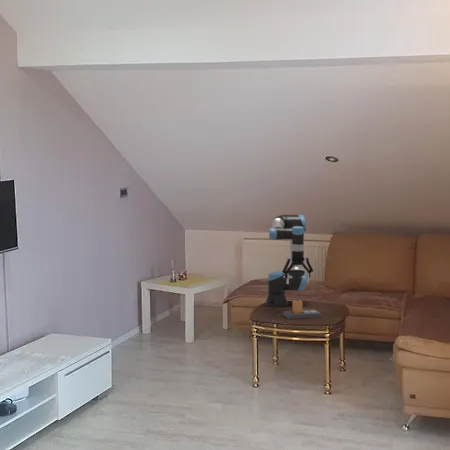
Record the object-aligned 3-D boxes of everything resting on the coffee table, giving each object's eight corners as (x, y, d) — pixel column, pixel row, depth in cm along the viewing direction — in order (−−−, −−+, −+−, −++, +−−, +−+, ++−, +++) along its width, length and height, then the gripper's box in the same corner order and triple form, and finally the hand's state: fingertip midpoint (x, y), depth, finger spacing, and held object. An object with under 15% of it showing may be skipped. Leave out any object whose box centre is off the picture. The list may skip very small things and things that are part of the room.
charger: (292, 315, 447) (292, 300, 446) (299, 315, 449) (299, 299, 447) (295, 317, 442) (295, 301, 441) (302, 316, 444) (302, 301, 443)
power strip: (282, 314, 449) (282, 310, 449) (314, 312, 454) (314, 309, 454) (288, 319, 438) (288, 315, 438) (321, 317, 443) (321, 313, 442)
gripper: (281, 252, 435) (280, 285, 437) (318, 250, 440) (318, 283, 442) (277, 250, 442) (277, 283, 444) (314, 249, 448) (313, 281, 450)
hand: (297, 283), depth 443 cm, fingers open, 13 cm apart
